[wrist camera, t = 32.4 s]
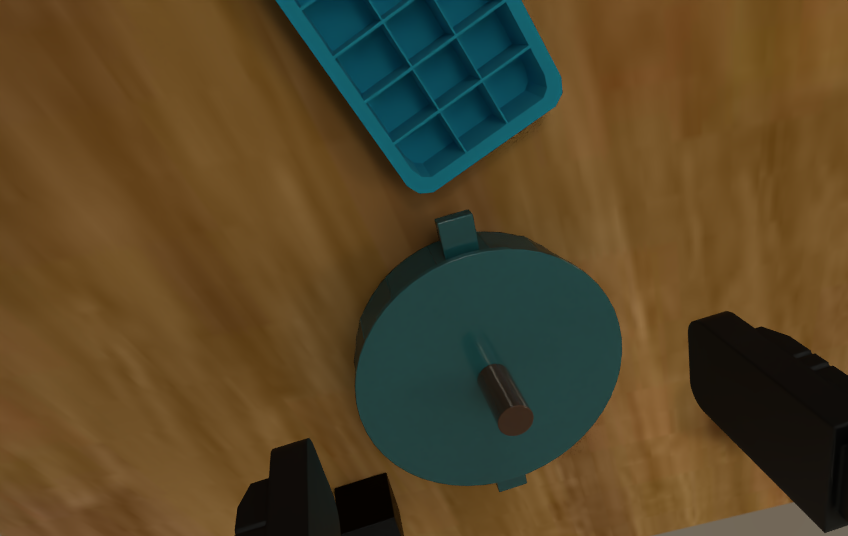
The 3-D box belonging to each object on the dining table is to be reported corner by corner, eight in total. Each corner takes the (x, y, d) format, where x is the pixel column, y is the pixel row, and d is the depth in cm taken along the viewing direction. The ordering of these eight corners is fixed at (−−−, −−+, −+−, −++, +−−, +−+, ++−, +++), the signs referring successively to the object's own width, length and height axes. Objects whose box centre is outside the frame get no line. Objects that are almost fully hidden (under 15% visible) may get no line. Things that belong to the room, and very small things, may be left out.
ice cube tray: (380, -234, 32) (387, -257, 29) (552, 89, 41) (570, 95, 38) (206, -99, 33) (198, -109, 30) (411, 189, 42) (418, 202, 39)
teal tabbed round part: (396, 490, 52) (404, 530, 48) (313, 238, 42) (314, 262, 38) (599, 425, 53) (624, 459, 49) (567, 166, 43) (594, 182, 39)
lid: (392, 506, 47) (404, 572, 42) (318, 291, 39) (321, 337, 34) (625, 431, 49) (666, 485, 43) (602, 208, 41) (649, 240, 35)
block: (349, 526, 52) (353, 575, 48) (334, 488, 50) (337, 535, 46) (399, 510, 53) (408, 557, 48) (386, 472, 51) (394, 517, 46)
